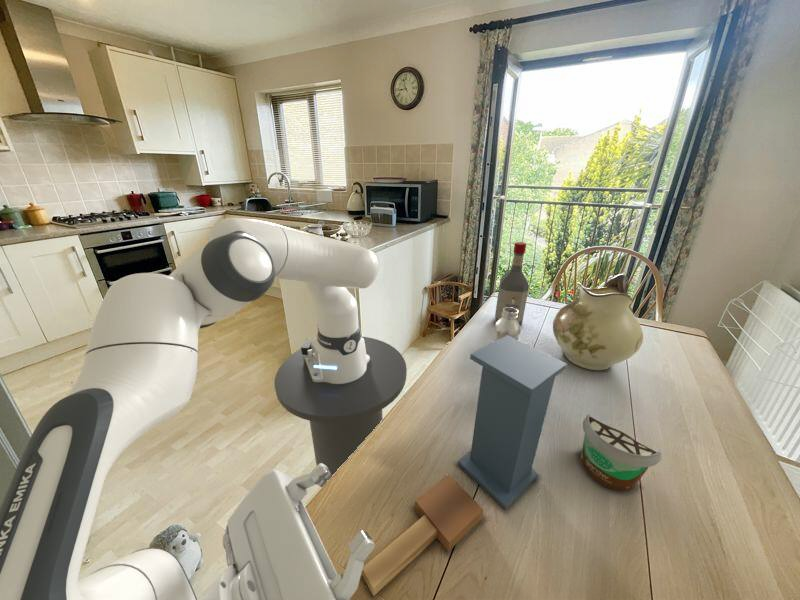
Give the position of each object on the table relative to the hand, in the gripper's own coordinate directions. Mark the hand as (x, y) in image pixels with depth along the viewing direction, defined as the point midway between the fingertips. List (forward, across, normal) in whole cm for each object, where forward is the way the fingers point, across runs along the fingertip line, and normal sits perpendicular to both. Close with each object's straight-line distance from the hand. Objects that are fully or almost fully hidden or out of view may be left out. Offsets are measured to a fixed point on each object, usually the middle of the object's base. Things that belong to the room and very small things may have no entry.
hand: (345, 499), depth 34 cm
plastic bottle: (+40, -18, -46) cm, 64 cm away
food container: (+30, +13, -41) cm, 52 cm away
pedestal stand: (+17, 0, -34) cm, 38 cm away
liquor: (+64, -35, -60) cm, 95 cm away
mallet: (0, 0, -24) cm, 24 cm away
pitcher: (+64, -7, -60) cm, 88 cm away
